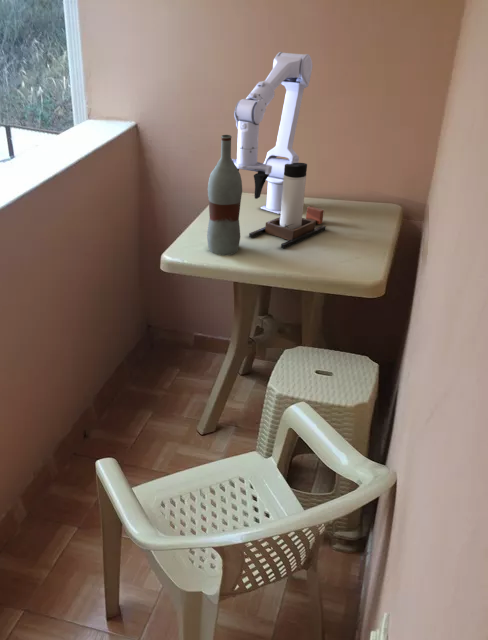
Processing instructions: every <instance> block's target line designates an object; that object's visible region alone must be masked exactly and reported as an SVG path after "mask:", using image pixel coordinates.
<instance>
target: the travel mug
mask: <svg viewBox="0 0 488 640" xmlns="http://www.w3.org/2000/svg"><path fill="white" fill-rule="evenodd" d="M307 170H308V163H306V162H298V163H293V164H285V168H284V177H283V190H282V202H281V214H279V215H280V216H279V217H280V226H282V227H285V228H289V229H292V230H294V229H296V228H299V227H301V224H302V218H303V213H304V202H305V193H306V182H307Z"/></svg>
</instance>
